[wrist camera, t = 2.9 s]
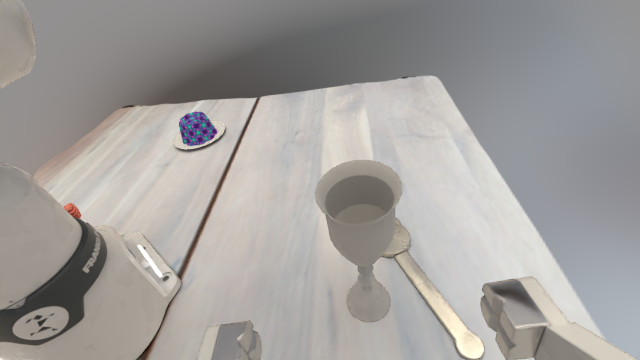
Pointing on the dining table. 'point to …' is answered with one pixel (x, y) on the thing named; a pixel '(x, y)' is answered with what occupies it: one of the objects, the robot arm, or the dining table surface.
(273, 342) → the dining table surface
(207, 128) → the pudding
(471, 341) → the spoon
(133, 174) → the dining table surface
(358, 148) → the dining table surface
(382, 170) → the chalice
